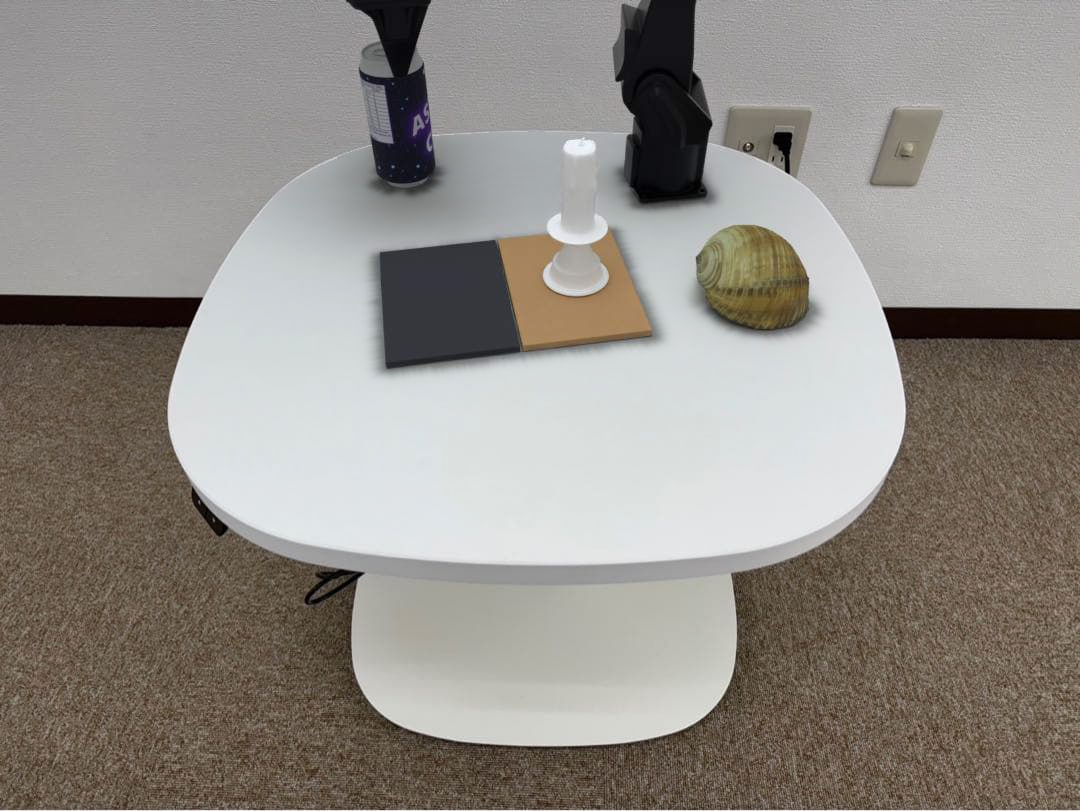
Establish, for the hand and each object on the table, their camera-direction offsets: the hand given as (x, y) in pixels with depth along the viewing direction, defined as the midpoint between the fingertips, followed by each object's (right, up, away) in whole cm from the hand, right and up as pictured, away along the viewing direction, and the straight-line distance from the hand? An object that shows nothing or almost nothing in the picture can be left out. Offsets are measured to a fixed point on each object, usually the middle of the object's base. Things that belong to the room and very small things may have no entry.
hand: (397, 54), depth 68 cm
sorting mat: (+10, -21, -3) cm, 23 cm away
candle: (+15, -20, -3) cm, 25 cm away
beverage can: (-1, -8, +10) cm, 12 cm away
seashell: (+29, -21, -4) cm, 36 cm away
